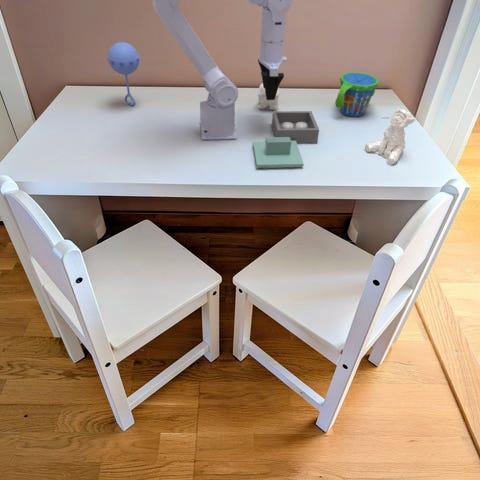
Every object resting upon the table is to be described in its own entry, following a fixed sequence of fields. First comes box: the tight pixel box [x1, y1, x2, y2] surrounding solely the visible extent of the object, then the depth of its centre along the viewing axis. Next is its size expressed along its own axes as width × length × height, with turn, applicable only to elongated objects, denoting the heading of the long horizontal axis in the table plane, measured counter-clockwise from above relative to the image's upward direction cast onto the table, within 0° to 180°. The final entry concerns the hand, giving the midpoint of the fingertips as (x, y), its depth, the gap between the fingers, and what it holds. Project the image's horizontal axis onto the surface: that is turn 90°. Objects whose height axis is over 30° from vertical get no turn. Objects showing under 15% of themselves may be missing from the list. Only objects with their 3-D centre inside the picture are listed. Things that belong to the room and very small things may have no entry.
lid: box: [252, 136, 305, 169], centre depth 101 cm, size 11×11×5 cm
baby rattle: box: [107, 41, 140, 107], centre depth 118 cm, size 9×9×18 cm
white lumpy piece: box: [257, 82, 280, 111], centre depth 123 cm, size 6×8×12 cm
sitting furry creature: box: [364, 107, 416, 166], centre depth 101 cm, size 10×9×12 cm
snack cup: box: [334, 72, 379, 118], centre depth 119 cm, size 16×10×10 cm
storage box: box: [271, 110, 320, 145], centre depth 111 cm, size 11×11×4 cm
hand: (268, 93), depth 109 cm, fingers open, 7 cm apart
